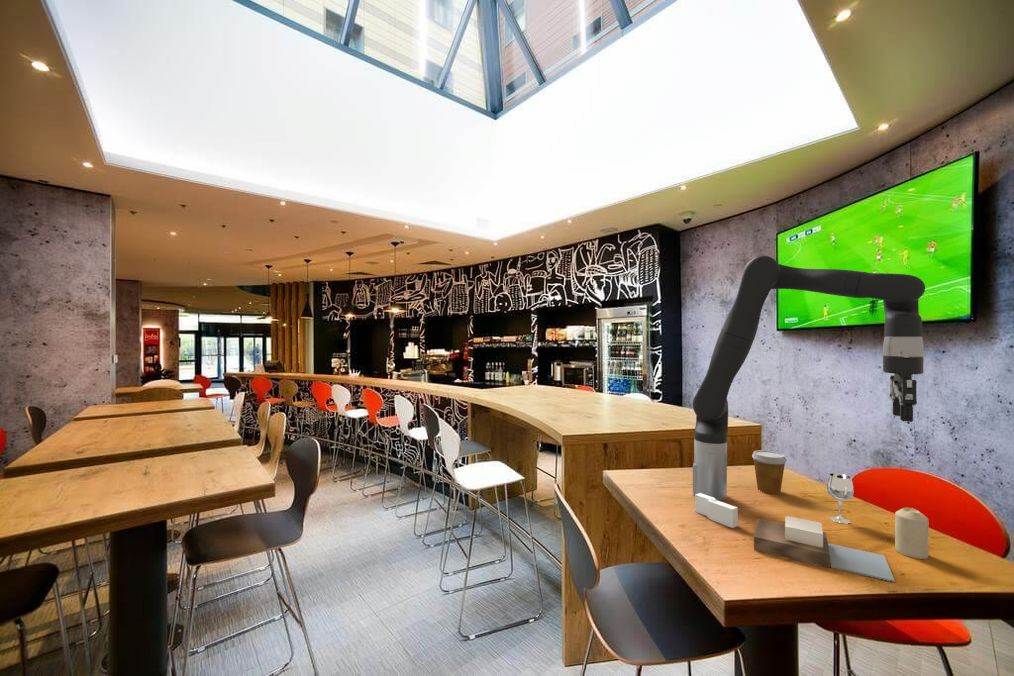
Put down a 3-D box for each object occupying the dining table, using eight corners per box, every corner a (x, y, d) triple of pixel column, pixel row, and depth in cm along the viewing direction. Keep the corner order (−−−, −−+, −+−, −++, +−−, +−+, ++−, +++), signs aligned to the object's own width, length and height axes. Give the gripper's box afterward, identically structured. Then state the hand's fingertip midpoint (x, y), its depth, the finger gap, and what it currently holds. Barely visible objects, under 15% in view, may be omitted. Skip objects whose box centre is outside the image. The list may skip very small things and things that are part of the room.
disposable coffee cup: (786, 489, 138) (786, 452, 138) (786, 498, 130) (786, 459, 130) (752, 484, 143) (752, 448, 143) (751, 492, 135) (751, 455, 135)
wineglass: (858, 525, 111) (858, 480, 111) (833, 523, 112) (833, 478, 112) (845, 516, 116) (845, 473, 116) (822, 515, 118) (822, 472, 118)
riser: (754, 549, 98) (754, 536, 98) (757, 530, 108) (757, 518, 108) (829, 567, 90) (829, 553, 90) (825, 545, 100) (826, 532, 100)
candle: (932, 562, 93) (932, 516, 93) (898, 555, 96) (898, 511, 96) (924, 551, 98) (924, 508, 98) (892, 545, 101) (892, 503, 101)
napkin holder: (749, 532, 108) (749, 510, 108) (703, 530, 109) (703, 508, 109) (726, 509, 123) (726, 489, 123) (685, 507, 124) (685, 488, 124)
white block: (785, 539, 97) (785, 526, 97) (785, 528, 103) (785, 515, 103) (823, 547, 93) (823, 534, 93) (821, 535, 99) (821, 522, 99)
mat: (831, 567, 91) (831, 565, 91) (827, 544, 101) (827, 543, 101) (894, 582, 85) (894, 580, 85) (884, 557, 95) (884, 555, 95)
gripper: (877, 353, 115) (877, 412, 115) (889, 355, 103) (888, 421, 103) (915, 354, 111) (915, 415, 111) (931, 356, 99) (931, 425, 99)
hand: (902, 418), depth 107 cm, fingers open, 8 cm apart
